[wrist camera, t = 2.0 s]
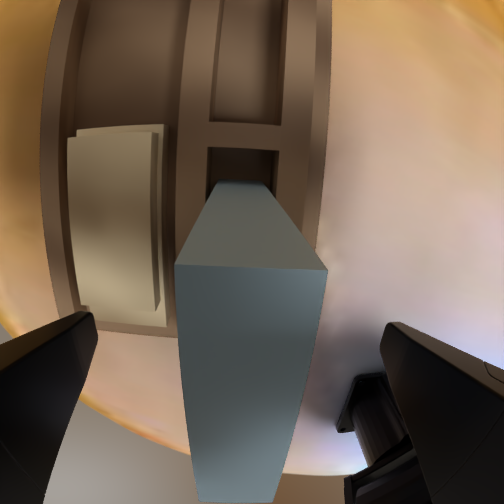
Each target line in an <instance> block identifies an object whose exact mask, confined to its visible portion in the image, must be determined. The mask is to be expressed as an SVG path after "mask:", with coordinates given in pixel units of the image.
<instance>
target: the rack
mask: <svg viewBox="0 0 504 504" xmlns="http://www.w3.org/2000/svg"><path fill="white" fill-rule="evenodd" d="M331 46H332V0H61V1H60V5H59V9H58V13H57V17H56V21H55V25H54V29H53V34H52V39H51V44H50V49H49V54H48V60H47V67H46V73H45V81H44V89H43V99H42V111H41V127H40V188H41V205H42V217H43V227H44V236H45V244H46V251H47V258H48V264H49V270H50V276H51V281H52V287H53V292H54V296H55V301H56V305H57V310H58V314H59V318H60V319H61V318H63V317H66V316H68V315H71V314H73V313H75V312H78V311H89V312H90V307H89V306H87V305H81V301H80V296H79V290H78V284H77V278H76V272H75V265H74V257H73V249H72V240H71V230H70V219H69V204H68V180H67V142H68V138H70V137H76V136H77V130H80V129H90V128H101V127H113V126H129V125H151V124H165V125H168V126H169V144H168V173H167V248H168V277H169V297H170V313H171V316H170V319H169V322H168V325H167V327H158V326H146V325H136V324H126V323H116V322H108V321H99V320H95V324H96V329H97V330H104V331H111V332H120V333H129V334H138V335H148V336H159V337H171V338H178V332H177V316H176V298H175V273H174V264H175V262H176V260H177V258H178V256H179V254H180V252H181V250H182V248H183V246H184V244H185V242H186V240H187V238H188V236H189V234H190V232H191V230H192V228H193V226H194V224H195V223H196V221H197V219H198V217H199V215H200V213H201V211H202V209H203V207H204V206H205V204H206V202H207V200H208V198H209V196H210V195H211V193H212V191H213V189H214V187H215V185H216V184H217V182H218V180H219V179H237V180H256V181H262V182H263V183H264V185H265V186H266V187H267V188H268V190H269V191H270V192H271V194H272V195H273V196H274V198H275V199H276V200H277V202H278V203H279V204H280V205H281V207H282V208H283V209H284V211H285V212H286V213H287V215H288V216H289V217H290V219H291V220H292V221H293V223H294V224H295V225H296V227H297V228H298V229H299V231H300V232H301V234H302V235H303V236H304V238H305V239H306V240H307V242H308V243H309V244H310V246H311V247H312V249H313V250H314V251H315V248H316V240H317V232H318V224H319V216H320V207H321V197H322V188H323V178H324V167H325V156H326V143H327V130H328V115H329V98H330V77H331Z"/></svg>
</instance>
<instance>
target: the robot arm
mask: <svg viewBox="0 0 504 504" xmlns="http://www.w3.org/2000/svg"><path fill="white" fill-rule="evenodd" d="M97 342H98V333H97V329H96V324H95V319H94V315H93V313H92V312H89V311H78V312H75V313H73V314H71V315H68V316H66V317H63V318H61V319H59V320H56V321H54V322H52V323H49V324H47V325H45V326H42V327H40V328H38V329H35V330H33V331H31V332H28V333H26V334H24V335H21V336H19V337H17V338H14V339H12V340H10V341H7V342H5V343H3V344H0V504H43V501H44V497H45V495H44V494H45V493H46V490H47V486H48V483H49V479H50V476H51V473H52V470H53V467H54V464H55V461H56V458H57V455H58V451H59V449H60V446H61V443H62V440H63V437H64V435H65V432H66V429H67V426H68V424H69V421H70V418H71V416H72V413H73V410H74V408H75V405H76V403H77V401H78V398H79V396H80V393H81V391H82V388H83V386H84V383H85V381H86V378H87V375H88V371H89V368H90V364H91V361H92V358H93V355H94V352H95V348H96V345H97ZM380 353H381V356H382V359H383V363H384V366H385V369H386V372H382V373H374V374H364V375H359V376H357V377H356V378H355V379H354V381H353V383H352V386H351V389H350V392H349V395H348V398H347V400H346V403H345V406H344V408H343V411H342V414H341V416H340V419H339V421H338V424H337V426H336V429H337V432H338V433H346V432H353V431H355V433H356V435H357V438H358V441H359V444H360V446H361V449H362V452H363V454H364V457H365V460H366V462H367V465H368V467H367V468H365V469H364V470H362V471H360V472H358V473H356V474H354V475H350V476H348V477H345V478H344V497H345V504H504V370H503V369H501V368H498V367H496V366H494V365H492V364H489V363H487V362H485V361H484V362H483V360H481V359H479V358H476V357H474V356H472V355H470V354H468V353H466V352H463V351H461V350H459V349H457V348H455V347H453V346H451V345H448V344H446V343H444V342H442V341H440V340H438V339H435V338H433V337H431V336H429V335H427V334H425V333H423V332H420V331H418V330H416V329H414V328H412V327H410V326H408V325H405V324H403V323H401V322H389V323H387V325H386V327H385V330H384V333H383V336H382V339H381V343H380ZM360 381H361V382H360Z"/></svg>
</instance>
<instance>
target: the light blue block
mask: <svg viewBox="0 0 504 504" xmlns="http://www.w3.org/2000/svg"><path fill="white" fill-rule="evenodd" d="M174 273H175V298H176V316H177V332H178V346H179V358H180V369H181V380H182V389H183V398H184V407H185V415H186V423H187V431H188V438H189V445H190V452H191V458H192V464H193V470H194V476H195V482H196V487H197V493H198V498H199V501H200V502H218V503H267V502H273V499H274V496H275V493H276V490H277V487H278V484H279V480H280V477H281V474H282V471H283V467H284V464H285V461H286V457H287V454H288V450H289V447H290V443H291V440H292V436H293V432H294V429H295V425H296V421H297V417H298V413H299V410H300V406H301V402H302V397H303V393H304V389H305V385H306V381H307V376H308V372H309V368H310V363H311V358H312V354H313V349H314V344H315V339H316V335H317V329H318V324H319V319H320V314H321V309H322V303H323V297H324V292H325V286H326V280H327V274H328V269H327V268H326V267H325V265H324V264H323V262H322V261H321V260H320V258H319V257H318V255H317V254H316V253H315V251H314V250H313V249H312V247H311V246H310V244H309V243H308V242H307V240H306V239H305V238H304V236H303V235H302V234H301V232H300V231H299V229H298V228H297V227H296V225H295V224H294V223H293V221H292V220H291V219H290V217H289V216H288V215H287V213H286V212H285V211H284V209H283V208H282V207H281V205H280V204H279V203H278V202H277V200H276V199H275V198H274V196H273V195H272V194H271V192H270V191H269V190H268V188H267V187H266V186H265V185H264V183H263V182H262V181H256V180H237V179H219V180H218V182H217V184H216V185H215V187H214V189H213V191H212V193H211V195H210V196H209V198H208V200H207V202H206V204H205V206H204V207H203V209H202V211H201V213H200V215H199V217H198V219H197V221H196V223H195V224H194V226H193V228H192V230H191V232H190V234H189V236H188V238H187V240H186V242H185V244H184V246H183V248H182V250H181V252H180V254H179V256H178V258H177V260H176V262H175V264H174Z"/></svg>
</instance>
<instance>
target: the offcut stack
mask: <svg viewBox="0 0 504 504" xmlns="http://www.w3.org/2000/svg"><path fill="white" fill-rule="evenodd" d="M168 144H169V126H168V125H165V124H151V125H129V126H113V127H101V128H90V129H80V130H77V136H76V137H70V138H68V142H67V180H68V204H69V219H70V230H71V240H72V249H73V257H74V265H75V272H76V278H77V284H78V290H79V296H80V301H81V305H87V306H89V307H90V312H92V313H93V315H94V319H95V320H99V321H108V322H116V323H126V324H136V325H146V326H158V327H167V325H168V322H169V319H170V316H171V313H170V297H169V277H168V248H167V173H168Z"/></svg>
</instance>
